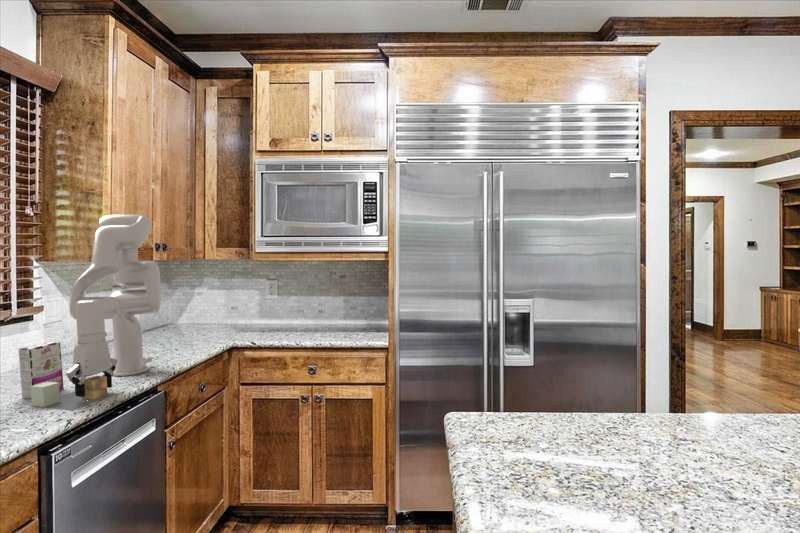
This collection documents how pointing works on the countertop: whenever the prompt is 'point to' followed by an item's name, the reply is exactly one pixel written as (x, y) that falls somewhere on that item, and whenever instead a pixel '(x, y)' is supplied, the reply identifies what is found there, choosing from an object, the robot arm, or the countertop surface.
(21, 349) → the candy bar box
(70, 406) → the mat
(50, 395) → the sage block
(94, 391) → the oak block
